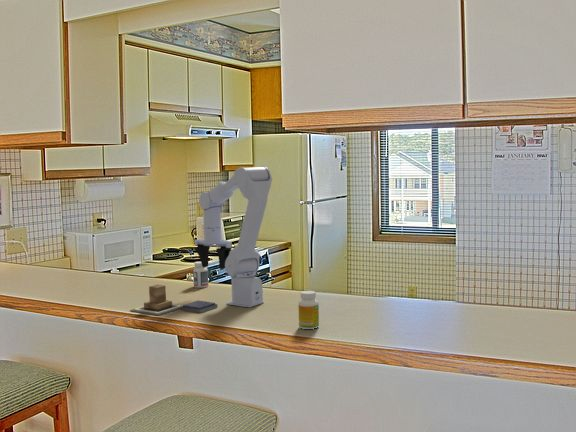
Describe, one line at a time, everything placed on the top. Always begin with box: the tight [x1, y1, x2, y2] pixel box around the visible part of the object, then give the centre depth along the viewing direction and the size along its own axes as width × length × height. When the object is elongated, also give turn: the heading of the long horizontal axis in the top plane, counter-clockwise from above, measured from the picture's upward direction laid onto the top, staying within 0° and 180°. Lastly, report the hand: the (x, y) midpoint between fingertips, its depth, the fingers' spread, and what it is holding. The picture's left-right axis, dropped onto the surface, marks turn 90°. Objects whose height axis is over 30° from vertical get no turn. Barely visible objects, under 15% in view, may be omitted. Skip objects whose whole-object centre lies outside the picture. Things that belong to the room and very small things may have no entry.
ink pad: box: [180, 299, 218, 314], centre depth 195 cm, size 8×8×2 cm
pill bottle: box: [192, 260, 209, 289], centre depth 229 cm, size 5×5×9 cm
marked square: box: [129, 303, 183, 317], centre depth 196 cm, size 12×12×1 cm
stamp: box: [143, 284, 173, 311], centre depth 195 cm, size 6×6×7 cm
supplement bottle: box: [298, 290, 320, 330], centre depth 171 cm, size 5×5×10 cm
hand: (213, 267), depth 213 cm, fingers open, 7 cm apart
